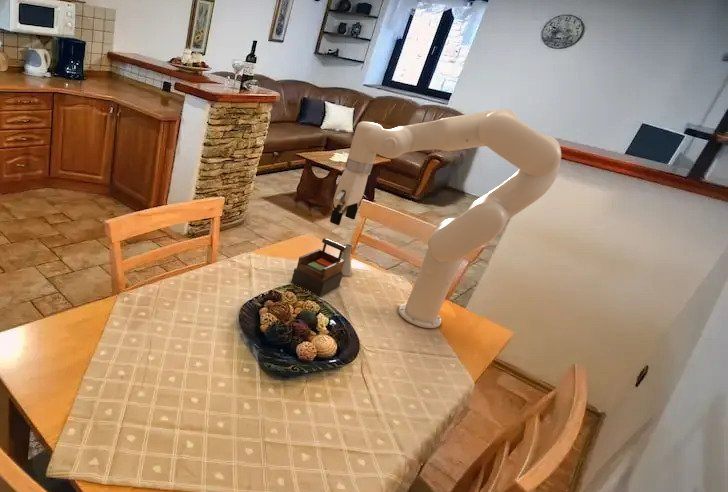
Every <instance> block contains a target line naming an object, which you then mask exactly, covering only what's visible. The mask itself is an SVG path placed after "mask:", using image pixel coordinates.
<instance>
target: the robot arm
mask: <svg viewBox="0 0 728 492" xmlns="http://www.w3.org/2000/svg"><path fill="white" fill-rule="evenodd" d="M481 147H482V148H483V147H487V148H489V149H490V150H491V151H492V152H493V153H495V154H497V155H498V156H499V157H501V158H502V159H504V160H505V161H507V162H508V163H509V164H511V165H513V166H514V167H515V168H517V169H518V170H517V171H516V172H515V173H514V174H513V175H512V176H511V177H509V178H508V179H507V180H505V181H503V182H502V183H501V184H500V185H498V186H497V187H495V188H493V189H492V190H490V191H489V192H488V193H486V194H484V195H483V196H481V197H479V198H477V199H476V200H474V201H473V202H472V203H471V204H470V205H469V207H468V209H467V210H466V211H464V212H463V213H462V214H460V215H458V216H457V217H451V218H447V219H444V220H442V221H440V222H439V224H437V226H435V229H433V231H432V233H431V235H430V237H429V239H428V243H427V250H426V252H425V255H424V257H423V260H422V262H421V265H420V267H419V270H418V273H417V275H416V277H415V281H414V283H413V287H412V289H411V291H410V294H409V295H408V298H407V302H406V303H402V304H400V305H399V308H398V314H399V315H400V316H401V317H402V318H403V319H404V320H405V321H407V322H408V323H410V324H412V325H414V326H418V327H420V328H425V329H436V328H438V327H440V326H441V325H442V321H443V319H442V318H441V316H440V315H439V314H440V312H441V310H442V308H443V306H444V303H445V301H446V298H447V295H448V293H449V291H450V288H451V286H452V284H453V282H454V279H455V277H456V274H457V272H458V270H459V267H460V265H461V263H462V260H463V259H464V257H466V256H468V255H470V254H471V253H473V252H474V251H476V250H477V249H479V248H481V247H483V246H484V245H485V244H488V243H489V242H490V241H493V240H494V239H495V238H497V236H499V235H500V234H501V233H502V232H503V230H504V229H505V226H506V224H507V221H509V220H510V219H511V218H513V217H514V216H516V215H517V214H519V213H520V212H522V211H524V210H525V209H526V208H529V207H530V206H531V205H533V204H534V203H535V202H537V201H539V199H540V198H542V197H543V196H544V195H545V194H546V193H547V192H548V191H549V190H550V188H551V187H552V185H553V184H554V183H555V180H556V179H557V178H558V177H557V176H558V174H559V172H560V168H561V161H562V149H561V145H560V143H559V141H558V140H557V139H556V138H555V137H554V136H551V135H549V134H542V133H540V132H538V131H537V130H535V129H533V128H532V127H531V126H529V125H528V124H527V123H525V122H523V121H522V120H521V119H520V118H519V117H518V115H517V114H516V112H514V110H511V109H508V108H498V109H491V110H486V111H480V112H475V113H468V114H463V115H457V116H450V117H445V118H440V119H436V120H432V121H426V122H421V123H413V124H408V125H402V126H397V127H394V128H390V129H386V128H383V126H382V125H381V124H378V123H375V122H371V121H364V120H363V121H360V122H358V123H357V125H356V127H355V130H354V134H353V137H352V140H351V145H350V148H349V152H348V155H347V158H346V161H345V166H344V170H343V171H342V174H341V176H340V179H339V181H338V184H337V187H336V190H335V193H334V196H333V204H332V212H331V216H330V217H329V218H330V219H329V222H330V223H331V224H334V225H336V226H340V224H341V222H342V218H343V215H344V213H343V212H344V210H345V208H346V207H347V209H346V212H345V215H344V216H345V217H346V218H348V219H350V220H352V221H353V220H356V216H357V213H358V210H359V207H360V205H361V201H362V200H363V196H364V195H365V190H366V186H367V182H368V178H369V176H370V175H371V172H372V169H373V165H374V163H375V159H376V156H377V155H379V156H381V157H383V158H386V159H395V158H398V157H400V156H402V155H403V154H407V153H413V152H419V151H428V150H439V151H443V152H452V151H453V152H454V151H460V150H461V151H462V150H466V149H467V150H468V149H473V148H481Z"/></svg>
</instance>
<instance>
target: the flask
mask: <svg viewBox="0 0 728 492" xmlns="http://www.w3.org/2000/svg"><path fill="white" fill-rule="evenodd" d="M343 246H344V247H346V251H345V252H342V256H341V259H343V260H345V261H344V265H343V268H342V271H341V272H342V273H343V275H342V276H351V274H352V272H353V271H352V258H351V256H352V249H354V245H353V244H351V243H348V242H347V243H345V242H344V245H343Z"/></svg>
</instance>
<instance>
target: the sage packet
mask: <svg viewBox="0 0 728 492" xmlns="http://www.w3.org/2000/svg"><path fill="white" fill-rule="evenodd" d="M307 266H308V267H310V268H312V269H314V270H316V271H318V272H320V273H322V272H323V268H326V267H324V266H322V265H320V264H317V263H315V262H312V263H309V264H308V265H307Z"/></svg>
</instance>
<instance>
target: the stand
mask: <svg viewBox="0 0 728 492" xmlns="http://www.w3.org/2000/svg"><path fill="white" fill-rule="evenodd" d="M343 276H344V275H343V273H342V272H341V273H339V274H337V275H335V276H333V277H331V278H329V279H327V280H325V281H323V282H321V281H319V280H317V279H315V278H313V277H311V276H309V275H307V274H305V273H303V272H301V271H299V270H297V267H295V268H294V269H293V272H292V277H291V281H290V283H291V284H293V285H295V284H297V285H299V286H301V287H303V288H305V289H307V290H309V291H311V292H312V293H311V292H310V293H311V294H313V293H314V294H313V295H314V296H317V297H318V298H321V297H323V296H324V295H326V294H328V293H330V292H332V291H334V290H336V289H338V288H339V287H340V284H341V282H342V279H343ZM297 285H296V286H297ZM299 286H298V287H299ZM301 287H300V288H301ZM303 288H302V289H303ZM305 289H304V290H305ZM307 290H306V291H307ZM309 291H308V292H309Z"/></svg>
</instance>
